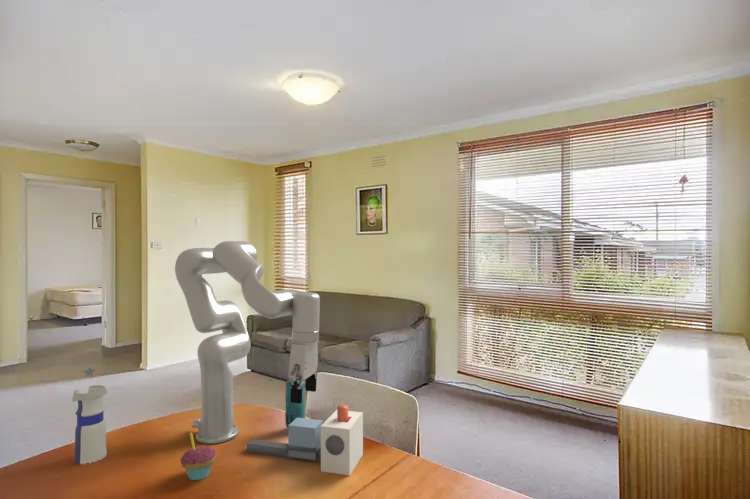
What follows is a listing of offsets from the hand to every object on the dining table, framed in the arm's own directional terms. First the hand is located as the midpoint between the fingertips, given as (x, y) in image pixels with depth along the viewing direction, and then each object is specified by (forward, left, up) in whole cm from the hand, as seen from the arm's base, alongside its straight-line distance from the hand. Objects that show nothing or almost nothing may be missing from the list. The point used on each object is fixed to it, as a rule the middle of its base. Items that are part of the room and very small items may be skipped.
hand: (303, 396), depth 121 cm
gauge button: (+12, 0, -9) cm, 15 cm away
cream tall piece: (-58, -16, -17) cm, 63 cm away
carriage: (+1, 0, -16) cm, 16 cm away
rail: (-5, 0, -17) cm, 18 cm away
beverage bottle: (-10, +16, -17) cm, 26 cm away
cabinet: (+12, 0, -17) cm, 21 cm away
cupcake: (-22, -16, -17) cm, 33 cm away
